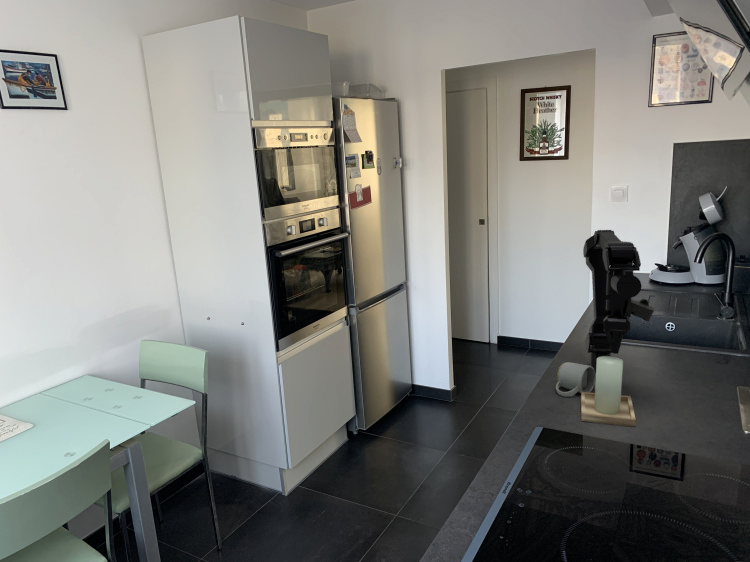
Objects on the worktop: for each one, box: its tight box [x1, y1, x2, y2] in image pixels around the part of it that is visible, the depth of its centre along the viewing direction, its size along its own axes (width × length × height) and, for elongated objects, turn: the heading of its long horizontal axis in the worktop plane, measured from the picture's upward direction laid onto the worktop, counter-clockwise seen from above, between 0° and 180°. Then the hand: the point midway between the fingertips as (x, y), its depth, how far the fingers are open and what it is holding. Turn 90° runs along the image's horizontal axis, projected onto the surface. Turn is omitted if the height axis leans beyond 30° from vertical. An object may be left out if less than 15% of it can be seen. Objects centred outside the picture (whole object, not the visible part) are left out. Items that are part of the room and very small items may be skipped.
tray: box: [580, 392, 637, 428], centre depth 141 cm, size 14×12×2 cm
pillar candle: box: [594, 355, 624, 414], centre depth 140 cm, size 6×6×13 cm
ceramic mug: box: [555, 361, 596, 398], centre depth 154 cm, size 11×8×8 cm
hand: (616, 348), depth 148 cm, fingers open, 9 cm apart
